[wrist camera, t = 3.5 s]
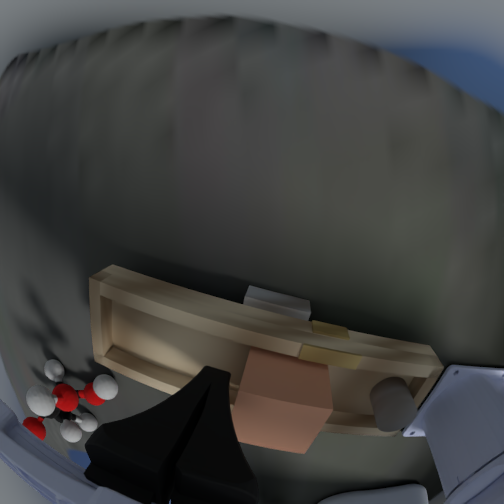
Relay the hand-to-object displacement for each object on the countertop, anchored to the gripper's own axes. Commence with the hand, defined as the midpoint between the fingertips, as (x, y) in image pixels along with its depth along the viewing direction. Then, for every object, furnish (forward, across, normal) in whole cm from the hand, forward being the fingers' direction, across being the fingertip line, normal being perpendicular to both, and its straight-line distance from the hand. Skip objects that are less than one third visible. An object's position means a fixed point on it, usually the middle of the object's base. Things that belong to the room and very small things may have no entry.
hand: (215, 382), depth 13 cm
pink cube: (+2, -3, 0) cm, 4 cm away
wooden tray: (+5, -2, 0) cm, 5 cm away
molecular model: (+5, +14, +12) cm, 19 cm away
